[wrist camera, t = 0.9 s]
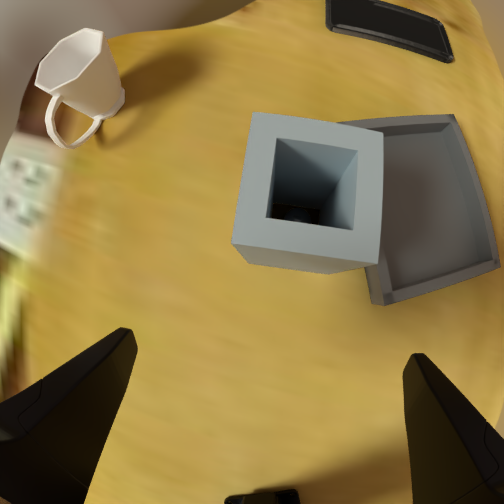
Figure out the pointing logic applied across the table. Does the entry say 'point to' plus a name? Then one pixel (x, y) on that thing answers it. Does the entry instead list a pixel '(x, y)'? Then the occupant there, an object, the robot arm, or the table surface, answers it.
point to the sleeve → (310, 194)
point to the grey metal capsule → (298, 216)
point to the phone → (389, 26)
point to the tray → (428, 210)
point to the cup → (81, 81)
